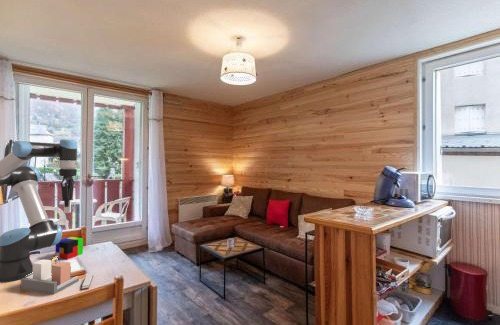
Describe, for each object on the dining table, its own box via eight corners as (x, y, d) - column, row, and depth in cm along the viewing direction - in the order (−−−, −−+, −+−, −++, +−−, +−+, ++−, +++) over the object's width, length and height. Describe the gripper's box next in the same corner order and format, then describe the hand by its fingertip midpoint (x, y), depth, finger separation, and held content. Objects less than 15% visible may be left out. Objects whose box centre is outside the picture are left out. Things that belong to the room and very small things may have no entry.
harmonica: (86, 278, 131) (86, 274, 131) (93, 277, 132) (93, 273, 132) (80, 291, 117) (80, 287, 117) (88, 290, 119) (88, 286, 119)
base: (48, 277, 130) (48, 267, 130) (78, 281, 126) (78, 271, 126) (20, 289, 117) (21, 279, 117) (53, 294, 113) (54, 283, 113)
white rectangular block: (44, 276, 126) (44, 258, 126) (52, 277, 125) (52, 259, 125) (32, 281, 121) (32, 263, 121) (41, 283, 120) (41, 264, 120)
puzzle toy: (55, 257, 156) (55, 241, 156) (71, 252, 165) (71, 236, 165) (67, 259, 153) (67, 243, 153) (82, 254, 162) (82, 238, 162)
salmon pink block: (62, 279, 124) (62, 260, 124) (71, 280, 123) (71, 261, 123) (51, 284, 119) (51, 265, 119) (60, 285, 118) (60, 266, 118)
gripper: (72, 169, 130) (71, 214, 130) (80, 168, 142) (79, 210, 142) (54, 168, 127) (53, 215, 127) (64, 168, 139) (63, 210, 140)
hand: (67, 212), depth 135 cm, fingers closed
